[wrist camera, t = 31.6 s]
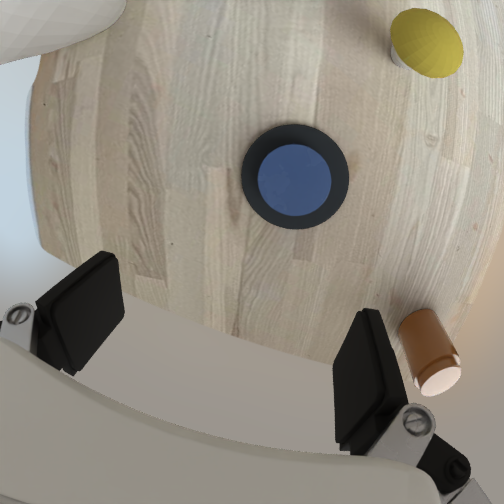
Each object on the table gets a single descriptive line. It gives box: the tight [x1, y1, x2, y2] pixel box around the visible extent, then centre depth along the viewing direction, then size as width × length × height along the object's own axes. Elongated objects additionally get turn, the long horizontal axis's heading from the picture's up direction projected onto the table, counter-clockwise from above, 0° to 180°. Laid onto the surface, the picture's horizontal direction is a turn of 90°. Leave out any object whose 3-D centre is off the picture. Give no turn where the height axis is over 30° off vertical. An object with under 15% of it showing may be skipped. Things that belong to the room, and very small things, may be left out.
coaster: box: [241, 124, 349, 229], centre depth 27 cm, size 11×11×1 cm
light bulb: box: [390, 8, 464, 78], centre depth 15 cm, size 7×7×10 cm
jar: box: [398, 309, 461, 396], centre depth 28 cm, size 7×7×11 cm
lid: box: [258, 143, 331, 216], centre depth 25 cm, size 7×7×2 cm
